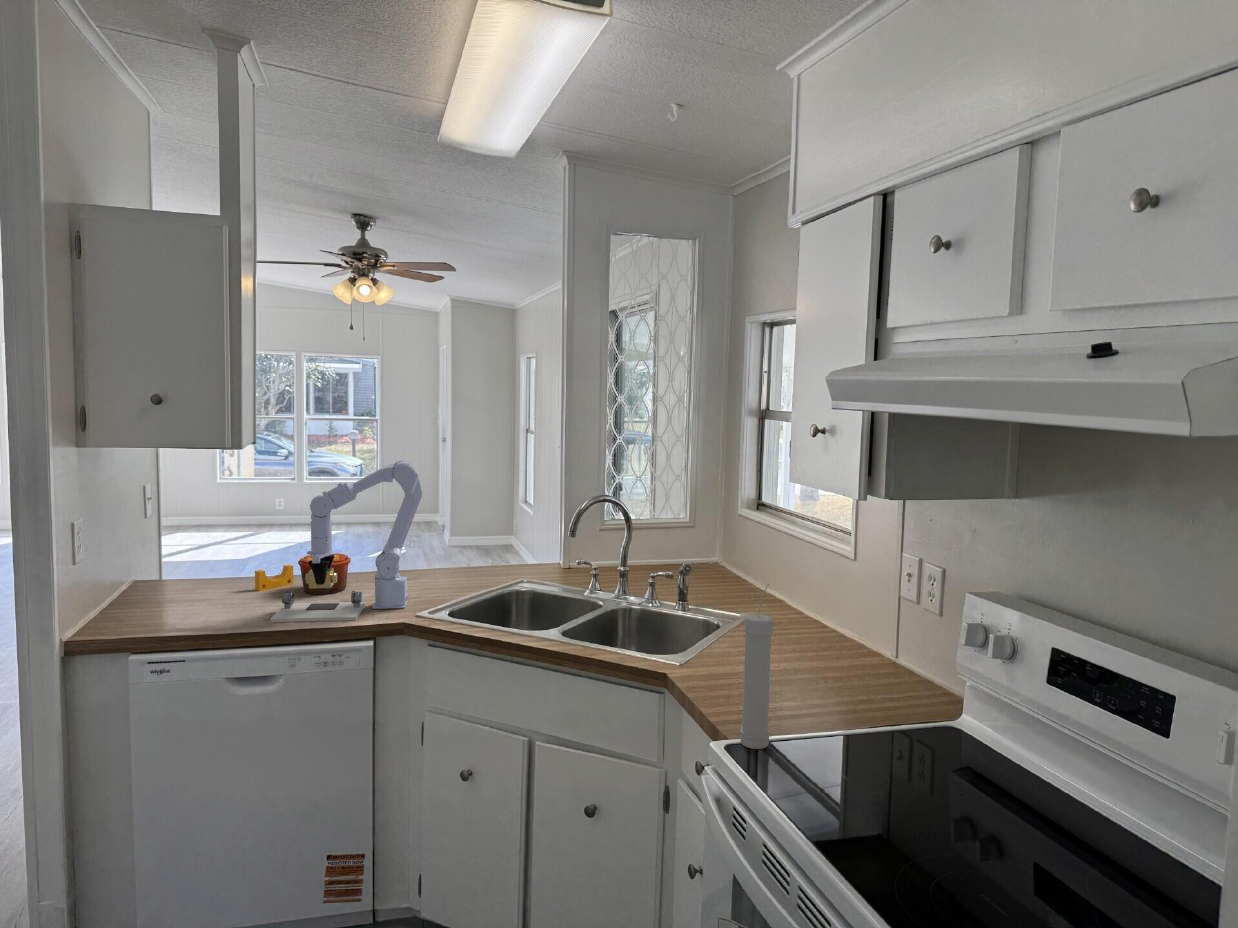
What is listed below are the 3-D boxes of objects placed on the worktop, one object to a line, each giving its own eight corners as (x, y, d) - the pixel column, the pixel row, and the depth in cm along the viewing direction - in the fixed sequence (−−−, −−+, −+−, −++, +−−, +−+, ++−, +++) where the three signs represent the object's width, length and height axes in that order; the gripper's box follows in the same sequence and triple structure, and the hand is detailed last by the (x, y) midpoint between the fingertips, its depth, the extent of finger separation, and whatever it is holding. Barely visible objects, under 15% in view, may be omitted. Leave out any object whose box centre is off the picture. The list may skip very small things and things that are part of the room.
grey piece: (734, 744, 148) (739, 587, 145) (750, 733, 153) (755, 581, 150) (760, 752, 144) (766, 592, 142) (776, 741, 149) (781, 586, 147)
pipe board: (366, 605, 239) (365, 586, 239) (355, 620, 223) (355, 600, 223) (286, 606, 236) (286, 587, 236) (270, 622, 220) (270, 602, 220)
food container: (295, 586, 260) (295, 554, 259) (346, 582, 267) (346, 551, 266) (301, 598, 246) (300, 564, 245) (354, 592, 253) (354, 560, 252)
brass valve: (337, 584, 235) (337, 567, 234) (334, 587, 230) (334, 571, 230) (308, 584, 234) (308, 568, 233) (304, 588, 229) (304, 571, 229)
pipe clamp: (285, 582, 266) (285, 563, 265) (293, 584, 263) (293, 565, 263) (252, 589, 256) (251, 570, 255) (259, 591, 254) (259, 571, 253)
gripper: (313, 532, 237) (314, 576, 239) (300, 541, 223) (301, 588, 224) (337, 532, 238) (338, 576, 239) (326, 541, 224) (327, 588, 225)
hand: (322, 582), depth 232 cm, fingers closed on brass valve, 4 cm apart
